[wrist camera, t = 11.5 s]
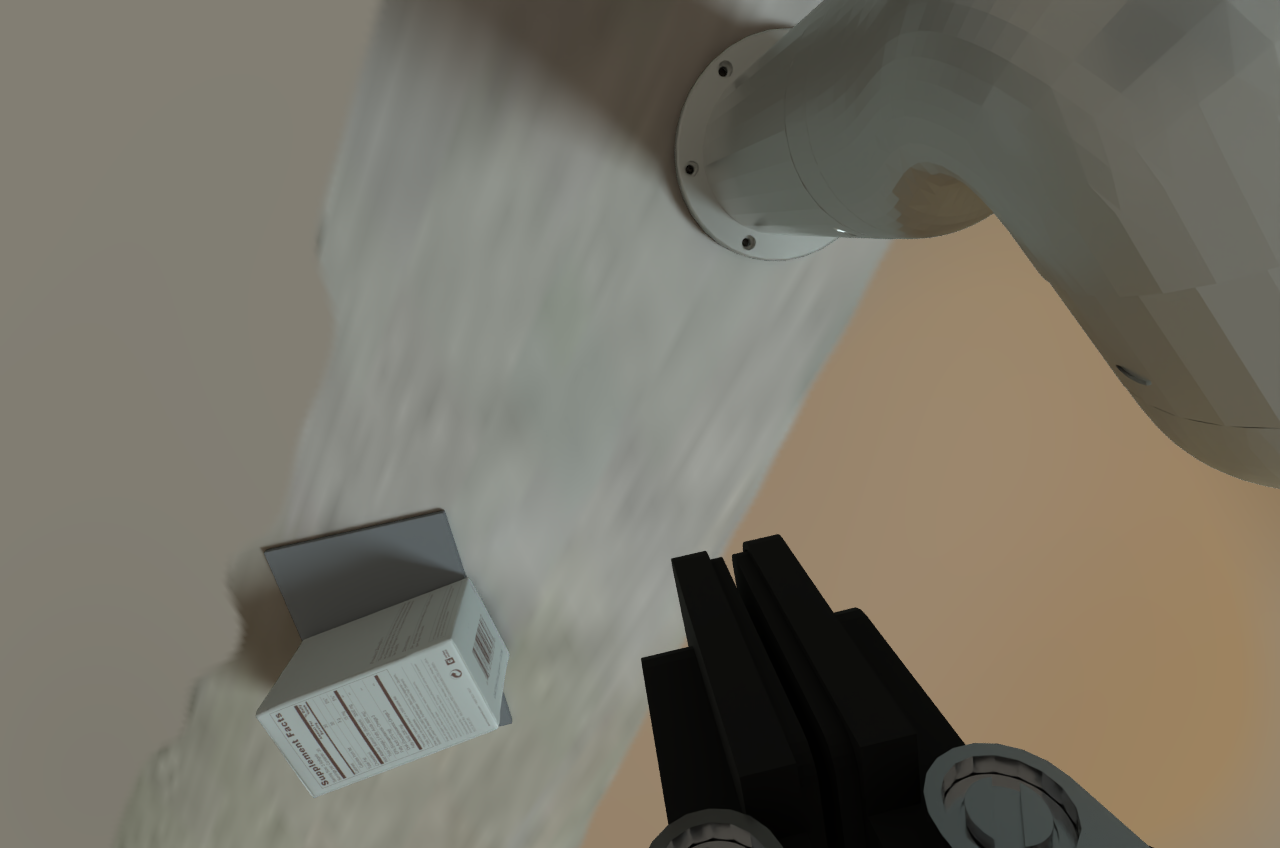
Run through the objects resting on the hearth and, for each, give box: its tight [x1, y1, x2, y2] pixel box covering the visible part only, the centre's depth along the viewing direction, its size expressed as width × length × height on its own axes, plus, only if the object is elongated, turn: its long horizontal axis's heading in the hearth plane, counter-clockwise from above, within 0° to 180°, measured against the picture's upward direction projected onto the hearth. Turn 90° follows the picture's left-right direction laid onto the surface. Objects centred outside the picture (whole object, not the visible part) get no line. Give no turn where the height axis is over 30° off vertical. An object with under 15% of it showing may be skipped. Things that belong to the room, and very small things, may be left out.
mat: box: [264, 510, 512, 727], centre depth 45 cm, size 12×18×1 cm, turn 11°
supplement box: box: [256, 577, 510, 798], centre depth 41 cm, size 7×7×13 cm
